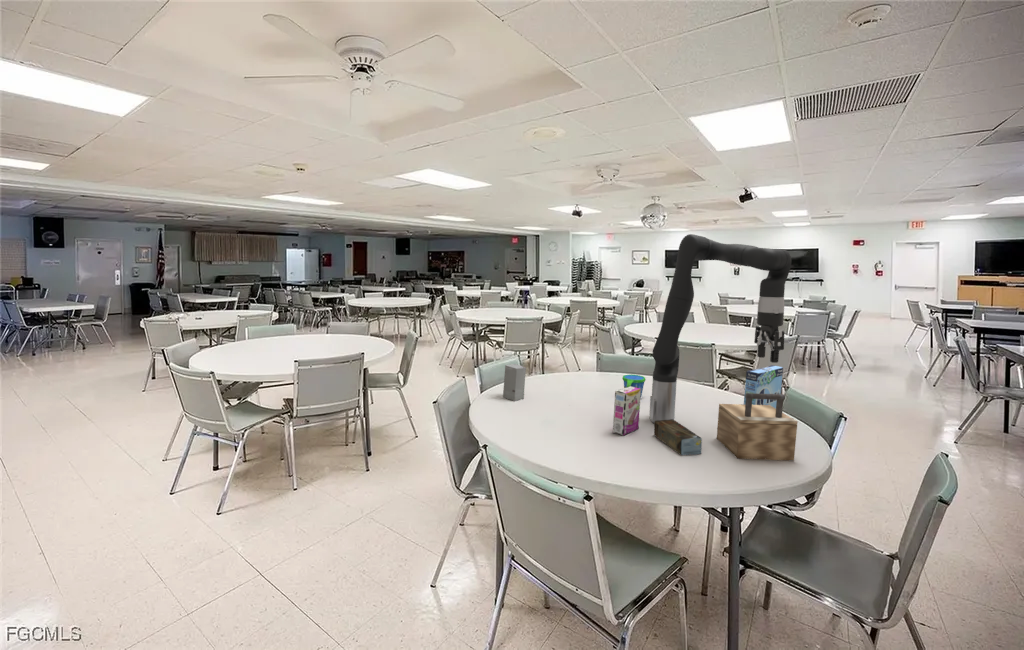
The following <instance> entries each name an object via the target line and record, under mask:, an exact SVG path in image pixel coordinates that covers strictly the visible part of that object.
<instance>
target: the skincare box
mask: <svg viewBox="0 0 1024 650" xmlns="http://www.w3.org/2000/svg"><path fill="white" fill-rule="evenodd" d="M526 370H527V367H525V366H522V365H520V364H516V363H512V364H505V365H504V378H503V393H502V398H504V399H506V398H507V400H510V401H513V402H515V401H516V400H517V401H521V400H520V399H522V400H524V398H525V385H526V373H527V371H526ZM517 401H516V402H517Z"/></svg>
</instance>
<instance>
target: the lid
mask: <svg viewBox="0 0 1024 650" xmlns="http://www.w3.org/2000/svg"><path fill="white" fill-rule="evenodd" d="M744 395H745V398H746V404H745V405H744V403H743V404H739V403H734V404H733V403H718V408H719V407H720V408H722V409H723V410H724V411H725V412H727V413H728V414H729V415H731V416H732V417H733V418H735V419H736V420H737V421H738V422H740V423H757V424H791V425H797V426H798V423H799V422H798V420H797V419H795V418H794V417H793V418H792V417H791V416H789V415H787V414H785V413H784V412H783V409H784V408H783V407H784V400H786V397H785V396H786V395H785V394H784V393H783V394H782V393H781V394H755V393H746V394H745V393H744ZM752 399H774V400H777V402H776V409H775V408H774V407H772V406H770V405H752Z"/></svg>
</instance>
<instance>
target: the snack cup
mask: <svg viewBox="0 0 1024 650" xmlns="http://www.w3.org/2000/svg"><path fill="white" fill-rule="evenodd" d="M622 380H623V381H622V382H623V389H624V388H627V387H630V386H631V387H636V388H640V389H641V397H640V399H641V398H642V396H643V390H644V385H645V382H646V377H645V376H643V375H639V374H624V375H623V376H622Z"/></svg>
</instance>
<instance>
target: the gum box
mask: <svg viewBox="0 0 1024 650" xmlns="http://www.w3.org/2000/svg"><path fill="white" fill-rule="evenodd" d="M783 373H784V367H783V366H778V365H772V364H771V365H768V366H764V367H758V368H755V369H750V370H746V373H745V385H744V397H743V404H744V405H745V404H746V398H745V394H746V393H755V394H782V386H783V385H782V383H783V382H782V381H783ZM776 402H777V400H774V399H752V405H770V406H772V407H774V408H775V409H776Z"/></svg>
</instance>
